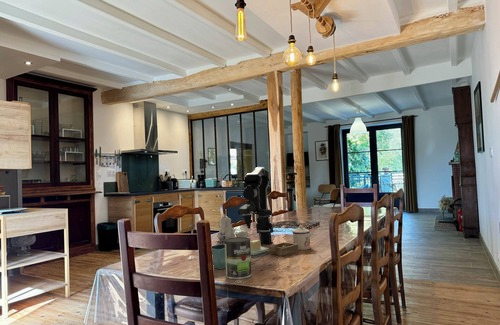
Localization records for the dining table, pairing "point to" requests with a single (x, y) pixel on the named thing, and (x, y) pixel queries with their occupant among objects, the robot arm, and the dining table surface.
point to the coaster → (260, 254)
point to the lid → (257, 247)
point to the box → (283, 249)
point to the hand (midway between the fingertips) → (255, 229)
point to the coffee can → (238, 258)
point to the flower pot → (219, 256)
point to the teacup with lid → (301, 238)
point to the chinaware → (228, 230)
